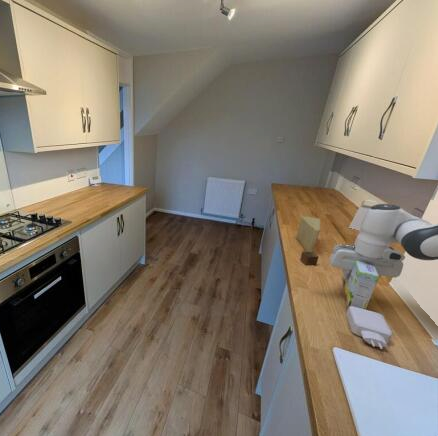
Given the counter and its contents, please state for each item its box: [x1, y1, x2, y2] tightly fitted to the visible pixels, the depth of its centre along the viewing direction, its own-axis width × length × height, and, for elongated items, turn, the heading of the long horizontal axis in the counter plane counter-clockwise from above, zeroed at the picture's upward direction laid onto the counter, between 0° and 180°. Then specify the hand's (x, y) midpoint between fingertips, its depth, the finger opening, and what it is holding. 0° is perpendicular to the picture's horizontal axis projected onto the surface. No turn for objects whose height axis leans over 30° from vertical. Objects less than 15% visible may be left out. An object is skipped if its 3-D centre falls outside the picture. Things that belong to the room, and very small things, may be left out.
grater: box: [348, 199, 380, 232], centre depth 157 cm, size 10×10×20 cm
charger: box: [345, 306, 394, 350], centre depth 76 cm, size 5×9×15 cm
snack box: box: [341, 261, 380, 310], centre depth 89 cm, size 21×6×15 cm, turn 147°
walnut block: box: [299, 251, 319, 267], centre depth 118 cm, size 5×5×5 cm
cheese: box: [295, 216, 322, 253], centre depth 132 cm, size 22×10×15 cm, turn 154°
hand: (357, 280), depth 90 cm, fingers closed on snack box, 6 cm apart
